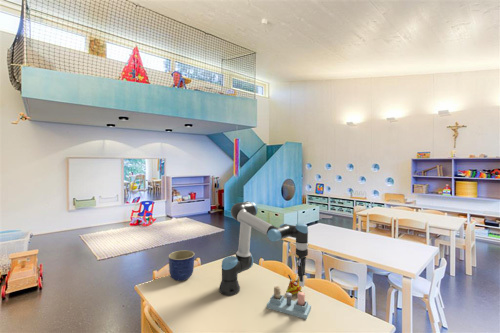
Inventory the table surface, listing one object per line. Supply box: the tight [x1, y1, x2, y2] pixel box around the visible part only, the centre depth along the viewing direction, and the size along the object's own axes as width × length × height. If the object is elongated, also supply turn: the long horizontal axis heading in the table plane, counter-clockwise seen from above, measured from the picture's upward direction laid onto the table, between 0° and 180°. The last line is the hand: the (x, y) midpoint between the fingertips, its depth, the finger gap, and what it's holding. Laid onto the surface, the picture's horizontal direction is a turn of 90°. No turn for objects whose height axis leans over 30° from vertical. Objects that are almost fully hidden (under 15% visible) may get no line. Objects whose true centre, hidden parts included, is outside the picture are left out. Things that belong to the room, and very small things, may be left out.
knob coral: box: [297, 291, 306, 306], centre depth 157 cm, size 4×4×7 cm
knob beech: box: [273, 285, 282, 300], centre depth 164 cm, size 4×4×7 cm
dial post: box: [285, 292, 293, 306], centre depth 160 cm, size 4×4×7 cm
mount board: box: [266, 293, 312, 320], centre depth 160 cm, size 26×12×6 cm, turn 64°
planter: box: [168, 249, 196, 282], centre depth 202 cm, size 21×21×19 cm
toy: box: [286, 274, 303, 296], centre depth 180 cm, size 14×10×15 cm
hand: (301, 285), depth 157 cm, fingers closed
